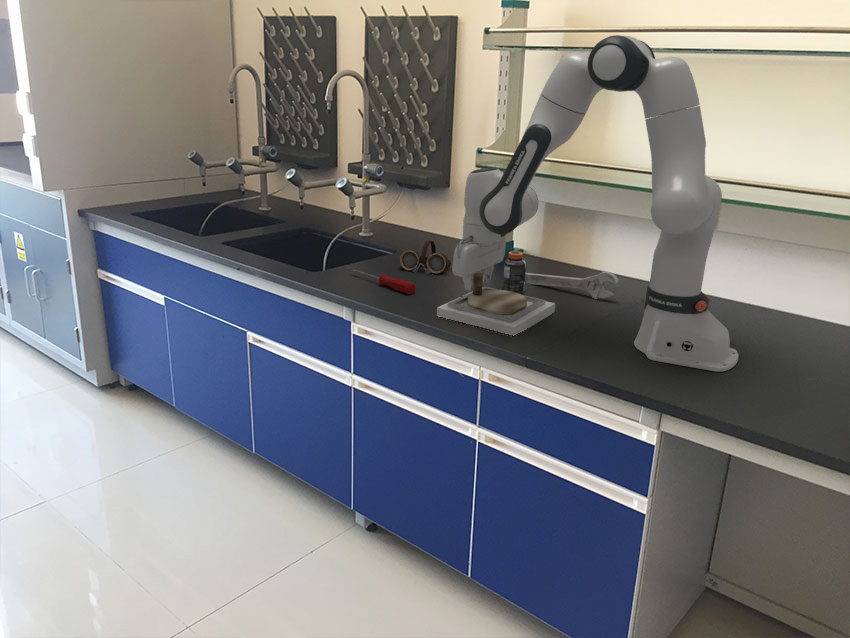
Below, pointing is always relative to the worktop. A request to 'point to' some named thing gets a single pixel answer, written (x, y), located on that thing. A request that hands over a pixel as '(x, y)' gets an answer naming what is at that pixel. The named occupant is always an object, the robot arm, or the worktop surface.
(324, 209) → the worktop surface
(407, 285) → the screwdriver
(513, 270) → the pill bottle
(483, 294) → the dial
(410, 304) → the worktop surface
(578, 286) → the wrench
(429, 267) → the goggles
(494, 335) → the worktop surface
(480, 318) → the control plate
